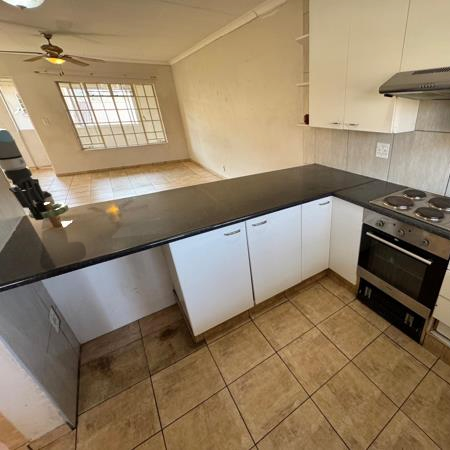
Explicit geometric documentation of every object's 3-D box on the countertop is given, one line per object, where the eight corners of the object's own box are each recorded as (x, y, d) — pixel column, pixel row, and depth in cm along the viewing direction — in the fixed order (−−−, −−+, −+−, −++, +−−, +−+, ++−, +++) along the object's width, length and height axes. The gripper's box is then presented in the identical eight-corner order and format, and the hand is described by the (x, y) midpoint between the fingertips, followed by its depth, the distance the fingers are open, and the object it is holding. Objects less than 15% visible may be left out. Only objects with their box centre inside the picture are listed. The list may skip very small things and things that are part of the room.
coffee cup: (39, 223, 128) (24, 197, 121) (40, 218, 135) (26, 192, 128) (62, 218, 133) (48, 192, 126) (62, 213, 140) (50, 188, 133)
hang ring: (22, 221, 113) (19, 215, 111) (44, 209, 125) (41, 204, 124) (57, 218, 115) (54, 212, 114) (75, 207, 127) (73, 201, 126)
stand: (41, 233, 119) (27, 208, 113) (53, 225, 127) (41, 200, 121) (63, 231, 121) (50, 206, 115) (73, 223, 129) (62, 199, 122)
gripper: (10, 172, 98) (40, 224, 109) (39, 163, 112) (62, 210, 123) (-12, 174, 97) (19, 226, 108) (20, 164, 111) (45, 211, 122)
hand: (42, 217), depth 115 cm, fingers closed on hang ring, 3 cm apart
